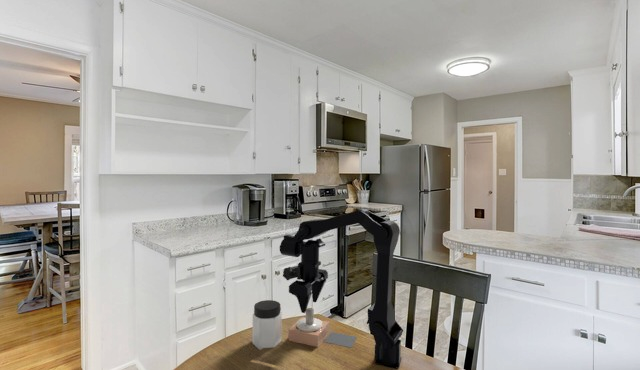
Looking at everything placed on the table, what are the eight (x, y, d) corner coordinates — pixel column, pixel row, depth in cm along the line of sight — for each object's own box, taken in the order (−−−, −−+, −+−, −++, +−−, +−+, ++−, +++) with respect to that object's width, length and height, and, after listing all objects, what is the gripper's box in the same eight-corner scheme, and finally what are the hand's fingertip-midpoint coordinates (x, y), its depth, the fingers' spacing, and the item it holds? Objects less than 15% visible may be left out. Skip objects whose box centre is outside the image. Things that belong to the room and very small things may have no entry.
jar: (285, 344, 98) (286, 306, 98) (262, 353, 93) (263, 313, 93) (271, 333, 105) (271, 297, 105) (248, 341, 100) (248, 303, 100)
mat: (357, 338, 103) (357, 336, 103) (351, 349, 96) (351, 347, 96) (331, 333, 106) (331, 331, 106) (323, 343, 99) (323, 341, 99)
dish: (329, 333, 106) (329, 321, 105) (318, 348, 96) (318, 335, 96) (301, 328, 109) (301, 316, 109) (288, 342, 100) (288, 329, 100)
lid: (326, 322, 105) (326, 306, 105) (316, 333, 97) (317, 317, 97) (303, 318, 108) (303, 303, 108) (292, 328, 100) (292, 312, 100)
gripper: (299, 250, 114) (298, 293, 114) (273, 263, 97) (272, 314, 97) (328, 253, 110) (328, 298, 110) (307, 267, 93) (306, 320, 93)
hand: (309, 307), depth 103 cm, fingers open, 9 cm apart
